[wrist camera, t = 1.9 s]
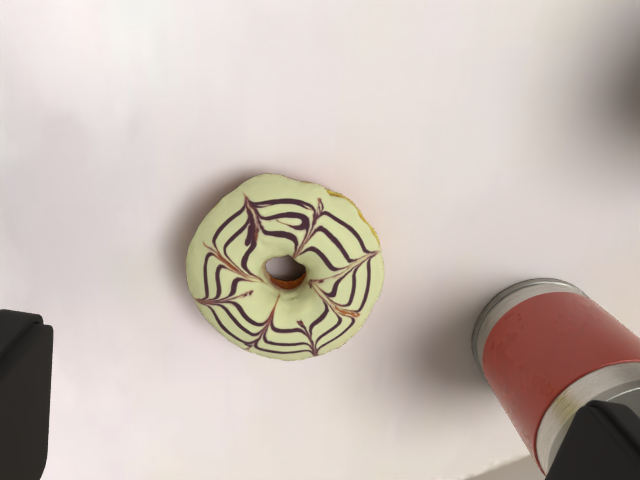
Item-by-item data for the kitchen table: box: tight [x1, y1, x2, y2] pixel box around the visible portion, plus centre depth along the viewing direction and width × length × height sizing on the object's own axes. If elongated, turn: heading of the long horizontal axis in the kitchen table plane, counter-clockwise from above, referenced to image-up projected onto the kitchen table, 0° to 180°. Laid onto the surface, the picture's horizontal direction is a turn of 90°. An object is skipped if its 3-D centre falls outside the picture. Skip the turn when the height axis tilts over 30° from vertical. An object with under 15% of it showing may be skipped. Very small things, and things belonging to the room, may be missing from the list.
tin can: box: [472, 278, 640, 476], centre depth 29 cm, size 8×8×11 cm
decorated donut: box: [186, 173, 384, 361], centre depth 29 cm, size 10×11×4 cm
